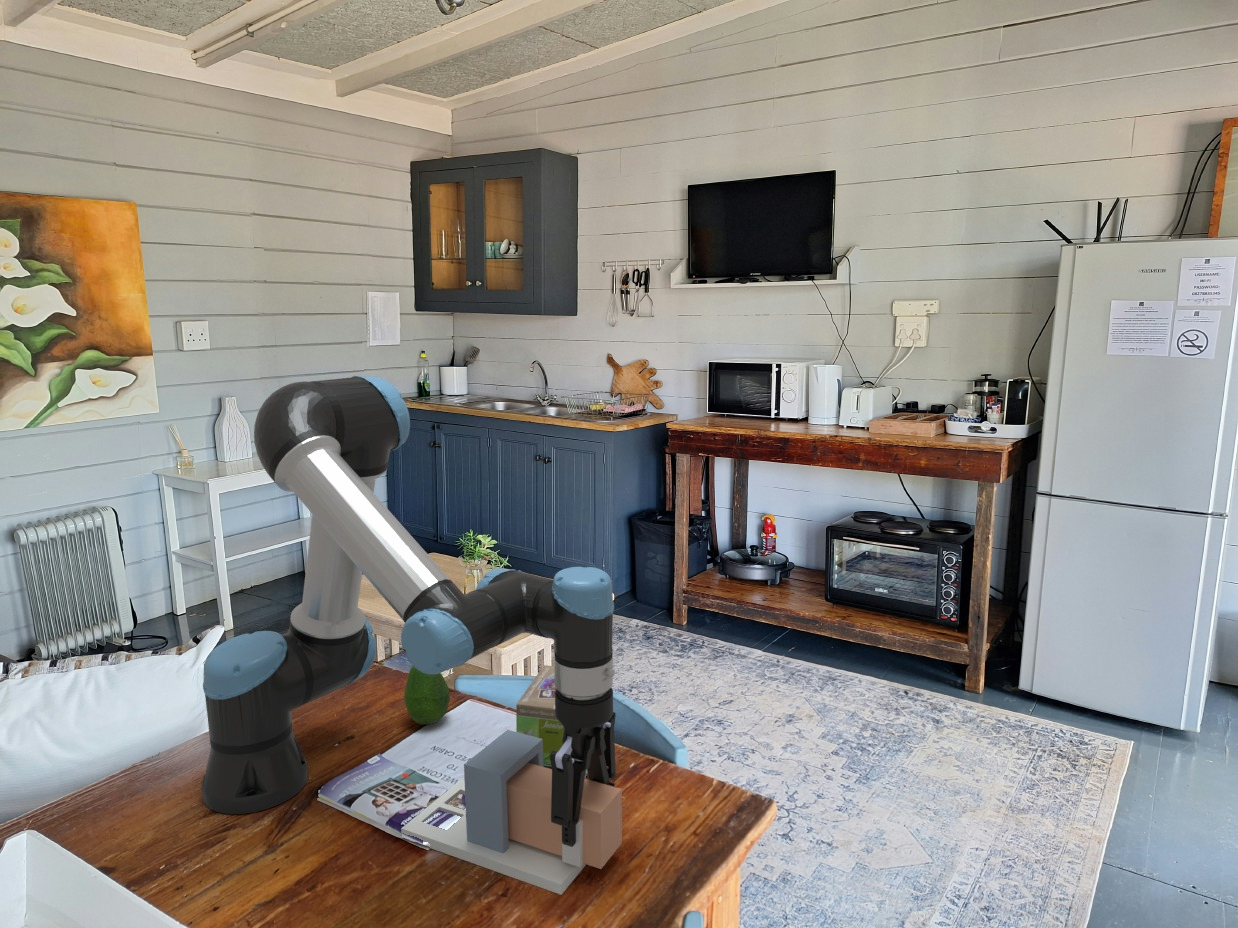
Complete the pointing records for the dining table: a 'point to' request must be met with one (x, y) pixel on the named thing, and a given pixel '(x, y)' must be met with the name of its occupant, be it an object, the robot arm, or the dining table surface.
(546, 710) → the tea box
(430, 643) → the robot arm
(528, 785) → the terracotta clay brick
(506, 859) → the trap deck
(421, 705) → the avocado
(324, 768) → the dining table surface
